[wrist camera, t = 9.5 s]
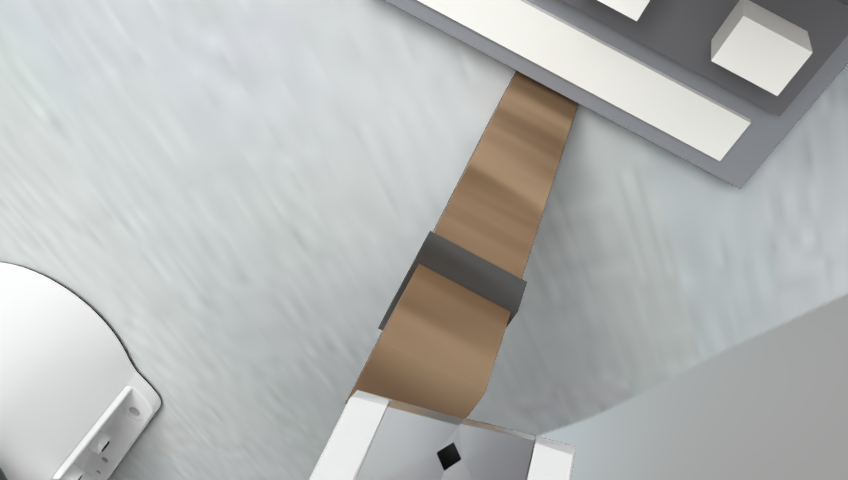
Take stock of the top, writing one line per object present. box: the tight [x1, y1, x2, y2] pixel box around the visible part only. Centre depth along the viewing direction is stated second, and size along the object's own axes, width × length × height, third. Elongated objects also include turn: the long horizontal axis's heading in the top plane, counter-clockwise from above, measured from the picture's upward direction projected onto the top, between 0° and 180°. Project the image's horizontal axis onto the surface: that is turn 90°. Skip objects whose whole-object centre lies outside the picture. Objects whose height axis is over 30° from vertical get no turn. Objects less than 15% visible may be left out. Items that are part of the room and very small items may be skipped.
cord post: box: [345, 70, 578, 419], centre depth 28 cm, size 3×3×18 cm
